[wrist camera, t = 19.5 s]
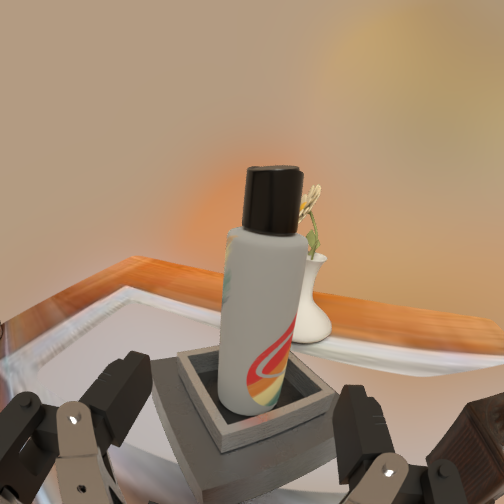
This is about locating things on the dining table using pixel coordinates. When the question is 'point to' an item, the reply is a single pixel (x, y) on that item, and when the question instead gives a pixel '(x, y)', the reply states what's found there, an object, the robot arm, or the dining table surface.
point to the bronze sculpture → (477, 449)
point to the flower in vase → (310, 283)
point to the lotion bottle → (261, 290)
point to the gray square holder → (241, 428)
